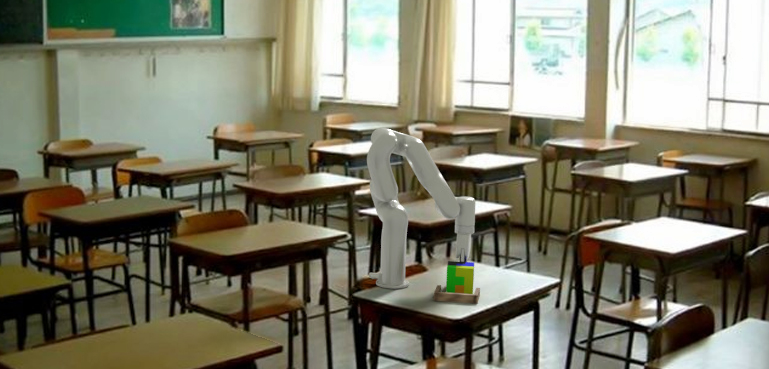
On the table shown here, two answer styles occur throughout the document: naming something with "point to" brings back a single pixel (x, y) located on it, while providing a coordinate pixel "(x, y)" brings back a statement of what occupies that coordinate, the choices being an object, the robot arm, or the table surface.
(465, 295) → the base frame
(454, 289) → the puzzle toy
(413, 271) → the table surface
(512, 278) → the table surface
